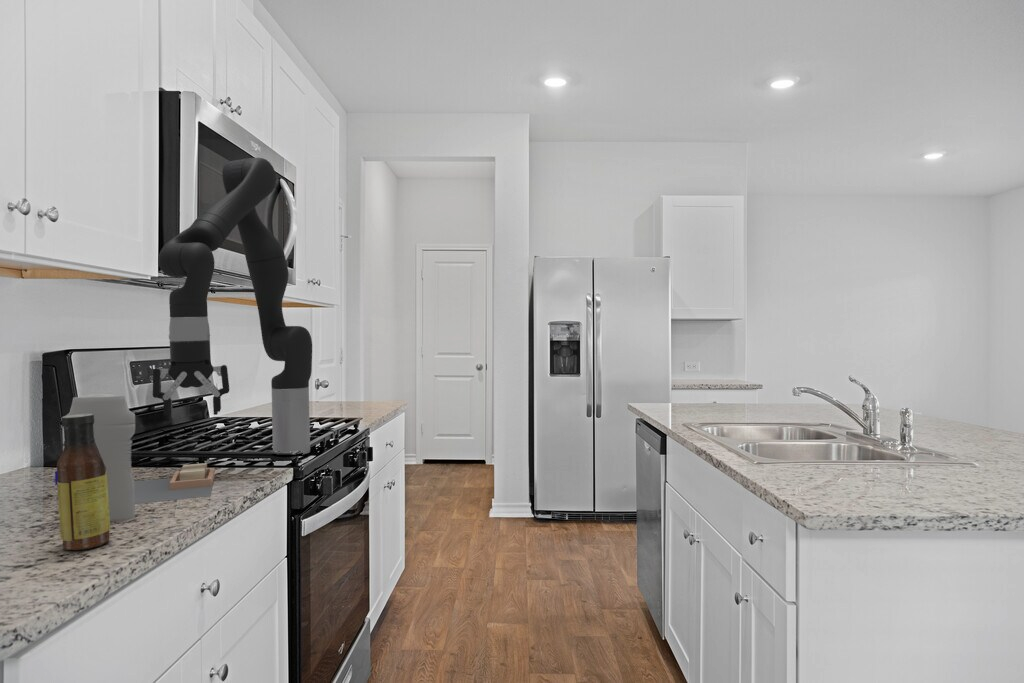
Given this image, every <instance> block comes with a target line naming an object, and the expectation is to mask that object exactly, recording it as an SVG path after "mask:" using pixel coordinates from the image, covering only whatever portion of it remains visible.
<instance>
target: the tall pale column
mask: <svg viewBox="0 0 1024 683" xmlns="http://www.w3.org/2000/svg"><path fill="white" fill-rule="evenodd" d="M126 400H127V398H126V396H125V395H116V394H109V393H99V392H98V393H93V394H87V395H83V396H75V397H72V402H71V406H70V410H69V413H67V414H66V415H65V416H67V415H75V414H93V415H94V421H95V422H94V424H93V428H94V439H95V443H96V445H97V448H98V450H99V453H100V455H101V457H102V460H103V462H104V464H105V466H106V473H107V487H108V500H109V514H110V523H111V522H117V521H125V520H130V519H131V520H132V519H135V518H136V511H135V510H136V508H135V505H136V504H135V495H134V481H135V478H134V476H133V473H132V470H131V468H132V467H133V466H132V445H131V444H133V440H132V437H133V436H134V435H135V433H136V414H135V413H134V412H133V411H131V410H130V409H129V406H128V403H127V401H126Z"/></svg>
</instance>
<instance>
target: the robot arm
mask: <svg viewBox="0 0 1024 683" xmlns="http://www.w3.org/2000/svg"><path fill="white" fill-rule="evenodd" d="M221 174H222V181H223V182H222V183H223V187H224V192H225V194H226V195H224V196H222V197H221V198H219V199H217V200H216V201H214V202H213V203H212V204H211V203H210V205H208V206H207V207H206V208H205V209H203V211H202V212H201V213H200V214H199V215H198V216H197V217H196V219H195V220H194V221H193V222H192V223H191V225H190V226H189V227H188V228H186V229H184V230H182V231H181V232H180V233H179V234H177V235H175V236H174V237H172V238H171V239H170V240H169V241H167V242H166V243H165V244H164V245H163V247H162V248H161V250H160V252H159V255H158V260H157V261H158V266H159V268H160V270H161V271H162V272H163V273H164V274H165V275H166V276H169V277H172V278H186V279H185V280H184V281H185V282H184V284H183V286H182V287H179V288H175V289H173V290H172V291H170V293H169V298H168V299H169V300H168V301H169V304H168V305H169V327H168V332H169V334H168V340H169V356H170V357H169V358H170V365H169V368H160V367H156V368H154V369H153V371H152V397H153V398H156V399H161V400H162V402H163V414H164V416H167V419H173V416H174V412H173V410H174V409H173V399H172V396H173V395H174V394H175V392H176V391H177V390H178V389H179V387H180V388H182V389H186V388H191V387H192V388H200V387H201V388H202V386H204V387H205V388H206V389H207V390H208V391H209V392H210V393H211V394H212V396H213V397H212V406H213V407H212V408H213V415H214V416H215V415H218V413H220V412H221V410H222V402H221V400H222V398H221V397H222V396H223V395H225V394H228V393H229V392H230V383H229V372H228V366H227V365H226V364H222V365H218V366H213V364H212V360H211V359H212V356H211V334H210V332H211V331H210V330H211V329H210V324H209V318H208V295H209V291H210V287H211V282H212V279H213V275H214V271H215V256H214V254H213V252H215V251H216V250H218V249H219V248H220V247H221V246H222V244H223V243H224V242H225V240H226V239H227V238H228V236H229V235H230V234H231V232H232V231H233V230H234V229H235V227H236V226H237V228H238V232H239V233H238V234H239V236H240V239H241V244H242V247H243V251H244V256H245V261H246V265H247V270H248V273H249V276H250V277H249V278H250V281H251V284H252V287H253V292H254V297H255V301H256V306H257V311H258V316H259V317H258V318H259V326H260V332H261V340H262V345H263V349H264V351H265V353H266V355H267V357H269V359H270V360H273V361H275V362H284V366H283V367H284V368H283V370H282V371H281V372H280V373H279V374H276V375H274V376H273V377H272V378H271V380H270V381H271V416H272V417H271V418H272V419H271V420H272V421H271V422H272V423H271V424H272V428H271V429H272V432H271V433H272V452H273V451H280V452H290V451H297V450H298V451H301V452H302V453H303V454H302V455H305V454H309V453H310V452H311V437H310V436H311V433H310V432H311V429H310V427H311V426H310V425H311V424H310V420H311V419H310V379H311V376H312V371H313V370H312V366H313V341H312V340H313V339H312V336H311V334H310V333H311V332H310V331H309V330H308V329H307V328H306V327H304V326H300V325H286V322H285V318H284V313H283V300H284V296H285V293H286V290H287V286H288V281H289V276H290V275H289V268H288V264H287V258H286V254H285V250H284V248H283V246H282V245H281V243H280V242H279V241H278V239H277V238H276V236H275V235H274V234H273V233H272V232H271V231H270V229H268V228H267V227H266V225H265V224H264V223H263V221H262V219H261V218H260V216H259V214H258V212H257V209H256V206H258V205H259V204H260V203H261V202H263V200H265V199H266V198H267V197H268V196H270V195H271V194H272V192H274V190H275V189H276V185H277V174H276V171H275V169H274V167H273V164H272V163H271V161H269V160H267V159H266V158H264V157H249V158H242V159H236V160H230V161H227V162H225V163H224V164H223V167H222V172H221ZM214 372H215V373H216V374H217V376H218V377H221V385H222V387H221V388H217V386H216V385H215V384H214V383H213V381H211V380H210V377H211V376H212V374H213V373H214ZM167 374H168V375H169V377H170V378H171V379H172V380H173V382H172V384H171V385H170V386H169V388H168V389H167V390H166V391H165V392H163V391H162V380H163V379H164V378H166V375H167Z"/></svg>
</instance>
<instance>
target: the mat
mask: <svg viewBox="0 0 1024 683" xmlns="http://www.w3.org/2000/svg"><path fill="white" fill-rule="evenodd" d="M207 478H208V476H207ZM171 479H172V477H167V478H160V479H159V478H158V479H147V480H134V495H135V505H139V504H141V505H142V504H148V503H158V502H168V501H169V502H170V501H176V500H177V501H178V500H188V499H189V500H190V499H196V498H198V499H199V498H207V497H211V495H212V492H213V488H214V483H215V479H216V473H215V476H214V479H213V483H212V486H208V487H197V488H187V489H177V490H170V481H171ZM179 481H180V479H179Z"/></svg>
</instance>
